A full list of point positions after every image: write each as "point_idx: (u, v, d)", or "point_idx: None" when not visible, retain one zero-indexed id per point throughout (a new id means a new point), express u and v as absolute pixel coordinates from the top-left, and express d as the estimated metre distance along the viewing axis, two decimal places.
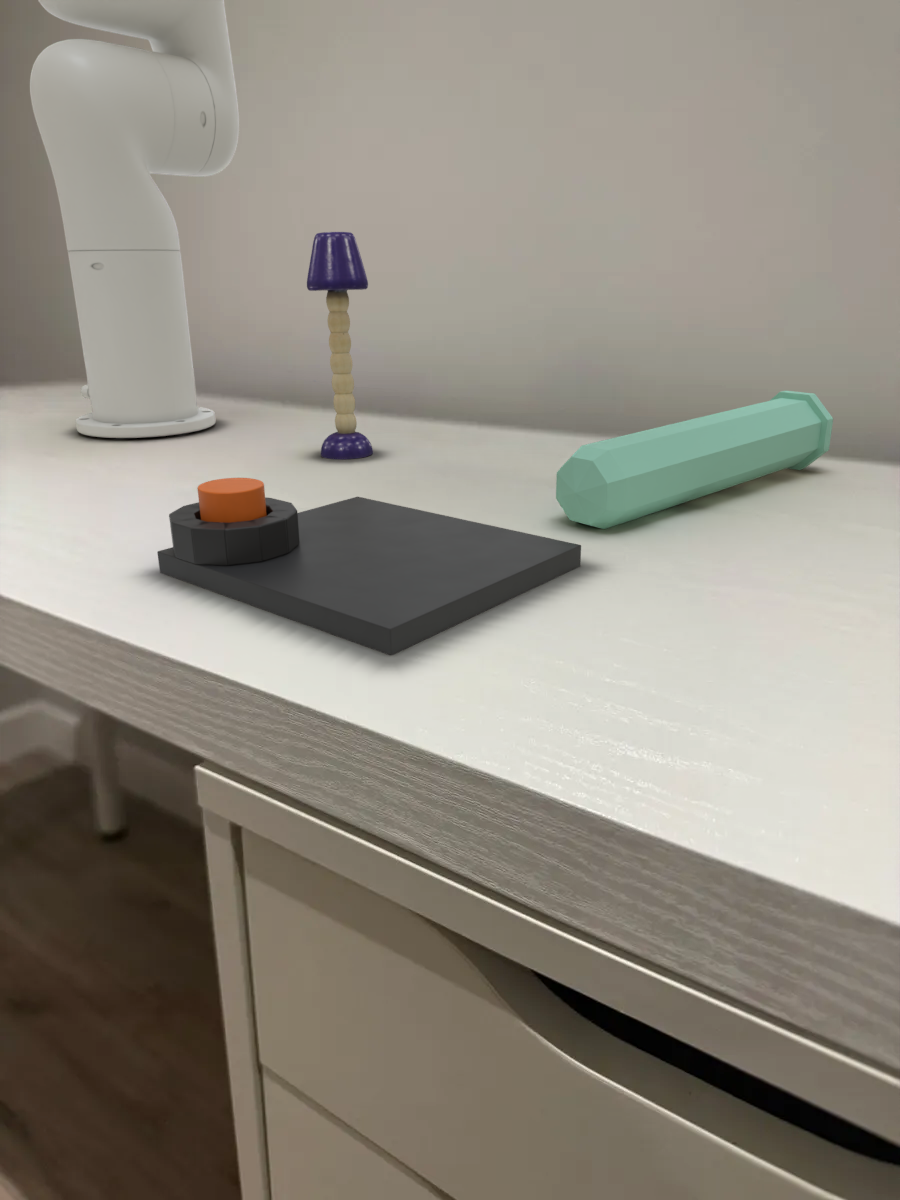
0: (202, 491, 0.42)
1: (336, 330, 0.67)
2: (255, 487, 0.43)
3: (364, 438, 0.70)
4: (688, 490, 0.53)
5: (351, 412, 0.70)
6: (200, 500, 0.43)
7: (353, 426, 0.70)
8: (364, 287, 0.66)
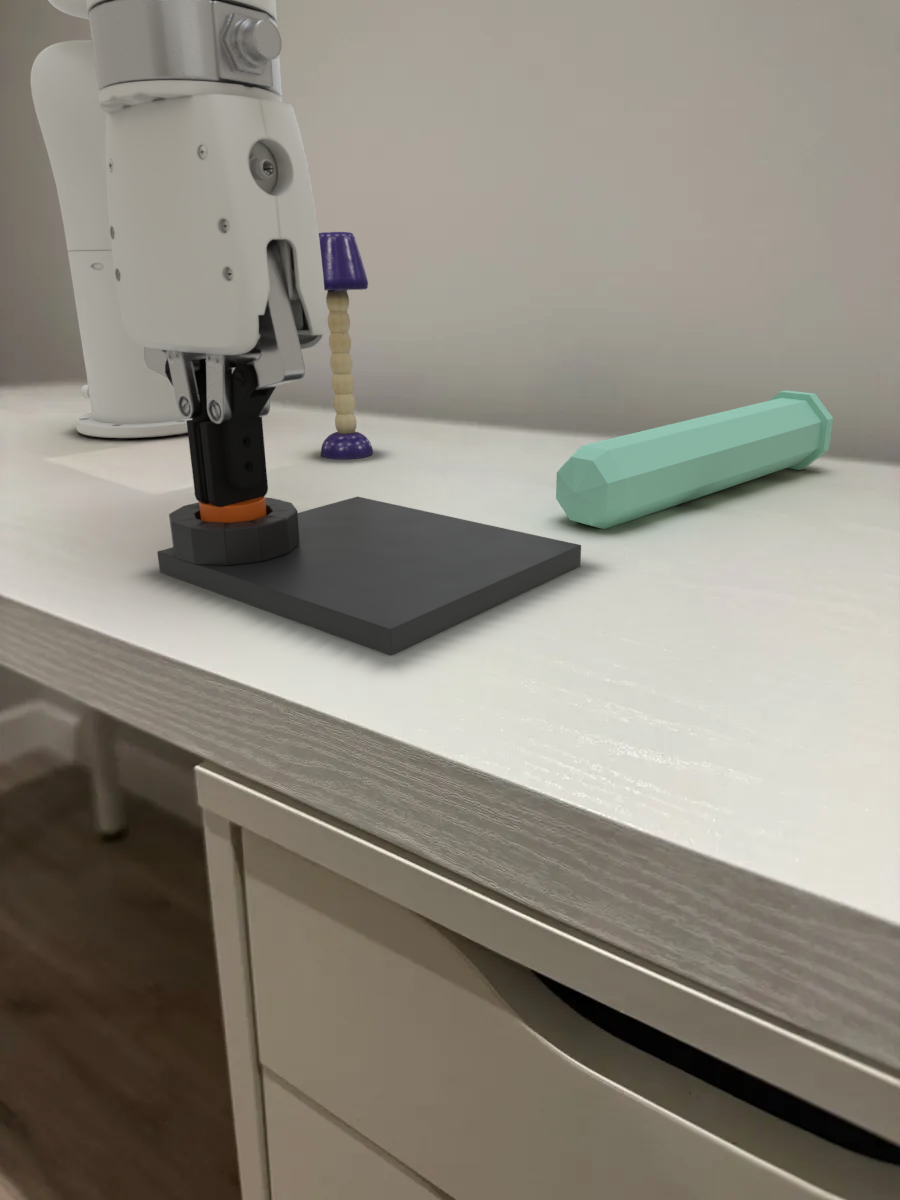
0: (204, 505, 0.43)
1: (336, 330, 0.67)
2: (256, 501, 0.43)
3: (364, 438, 0.70)
4: (688, 490, 0.53)
5: (351, 412, 0.70)
6: (202, 514, 0.43)
7: (353, 426, 0.70)
8: (364, 287, 0.66)
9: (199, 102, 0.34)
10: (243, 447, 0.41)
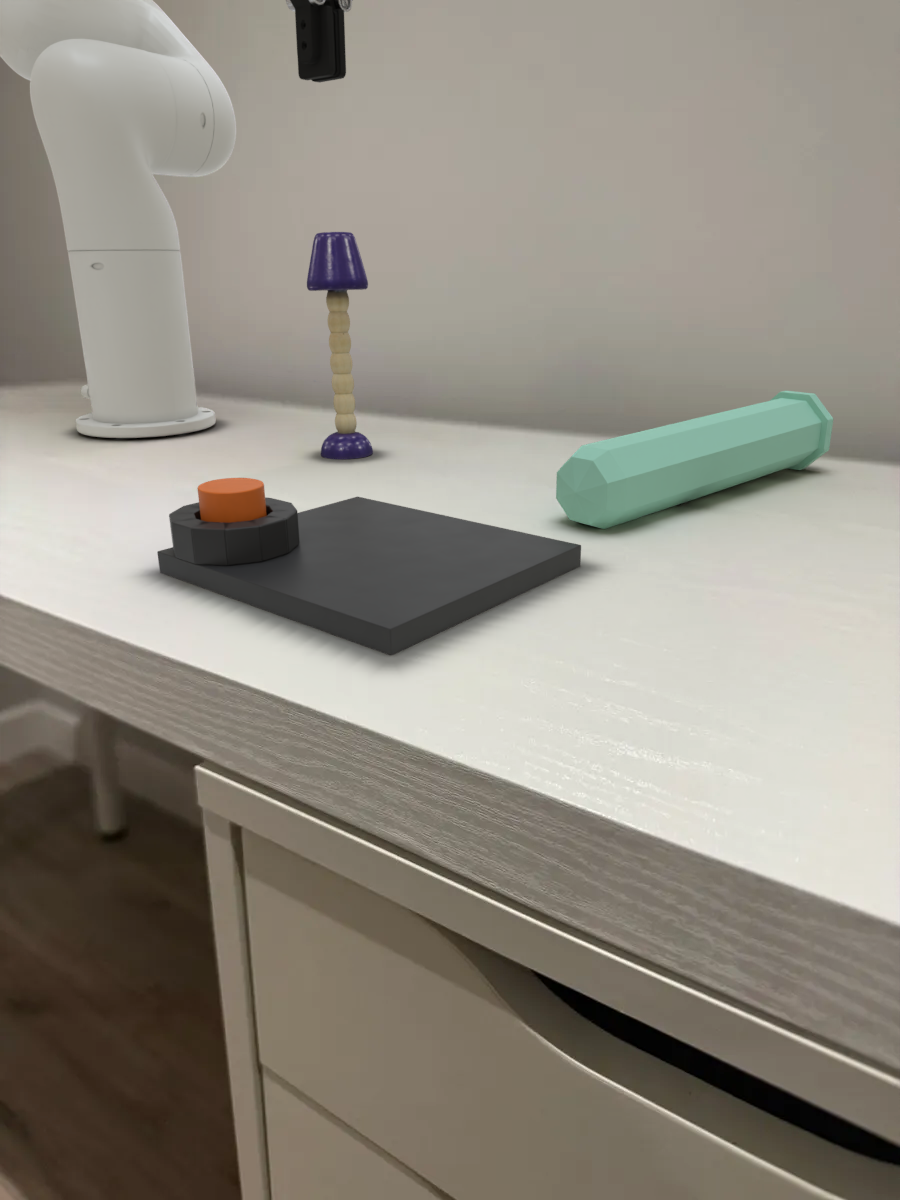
0: (202, 491, 0.42)
1: (336, 330, 0.67)
2: (255, 487, 0.43)
3: (364, 438, 0.70)
4: (688, 490, 0.53)
5: (351, 412, 0.70)
6: (200, 500, 0.43)
7: (353, 426, 0.70)
8: (364, 287, 0.66)
9: None
10: None
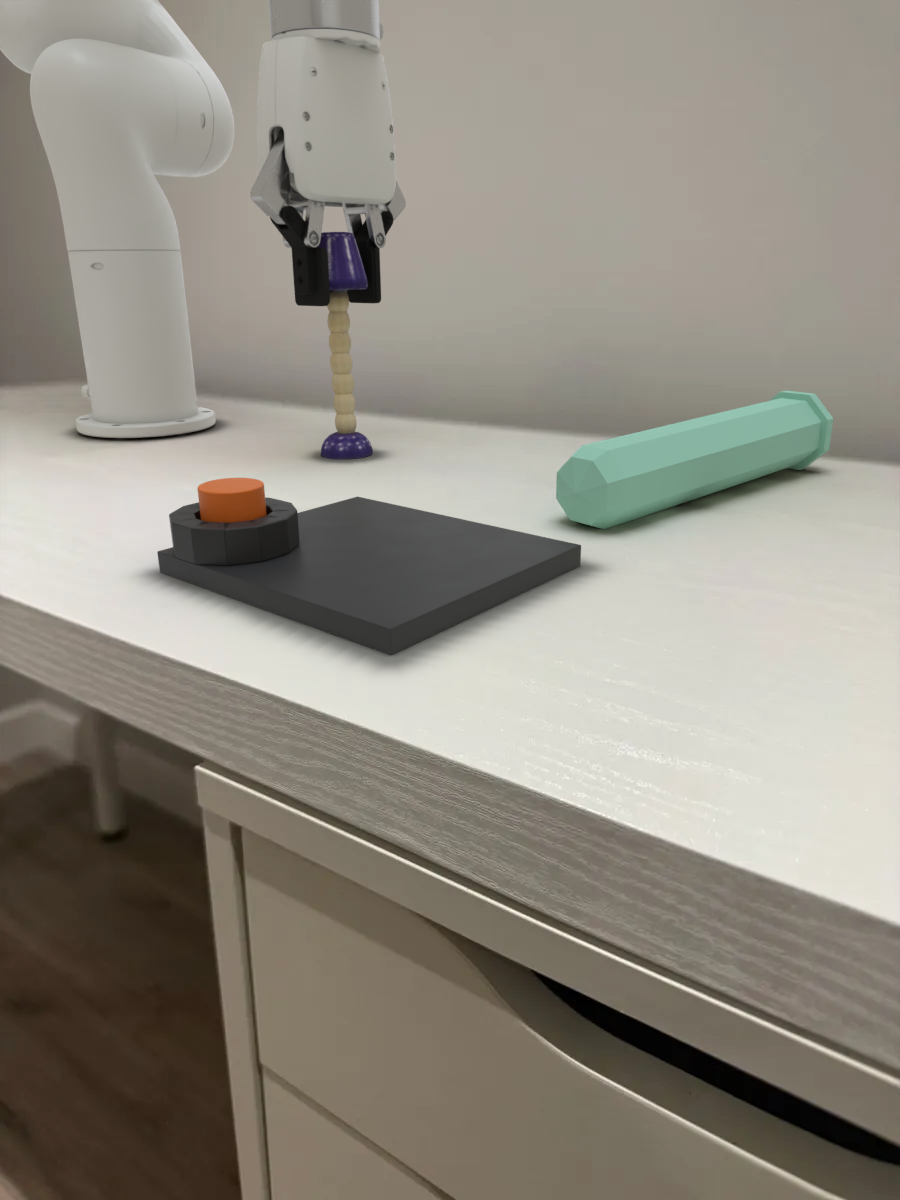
0: (202, 491, 0.42)
1: (336, 330, 0.67)
2: (255, 487, 0.43)
3: (364, 438, 0.70)
4: (688, 490, 0.53)
5: (351, 412, 0.70)
6: (200, 500, 0.43)
7: (353, 426, 0.70)
8: (364, 287, 0.66)
9: (381, 58, 0.63)
10: None
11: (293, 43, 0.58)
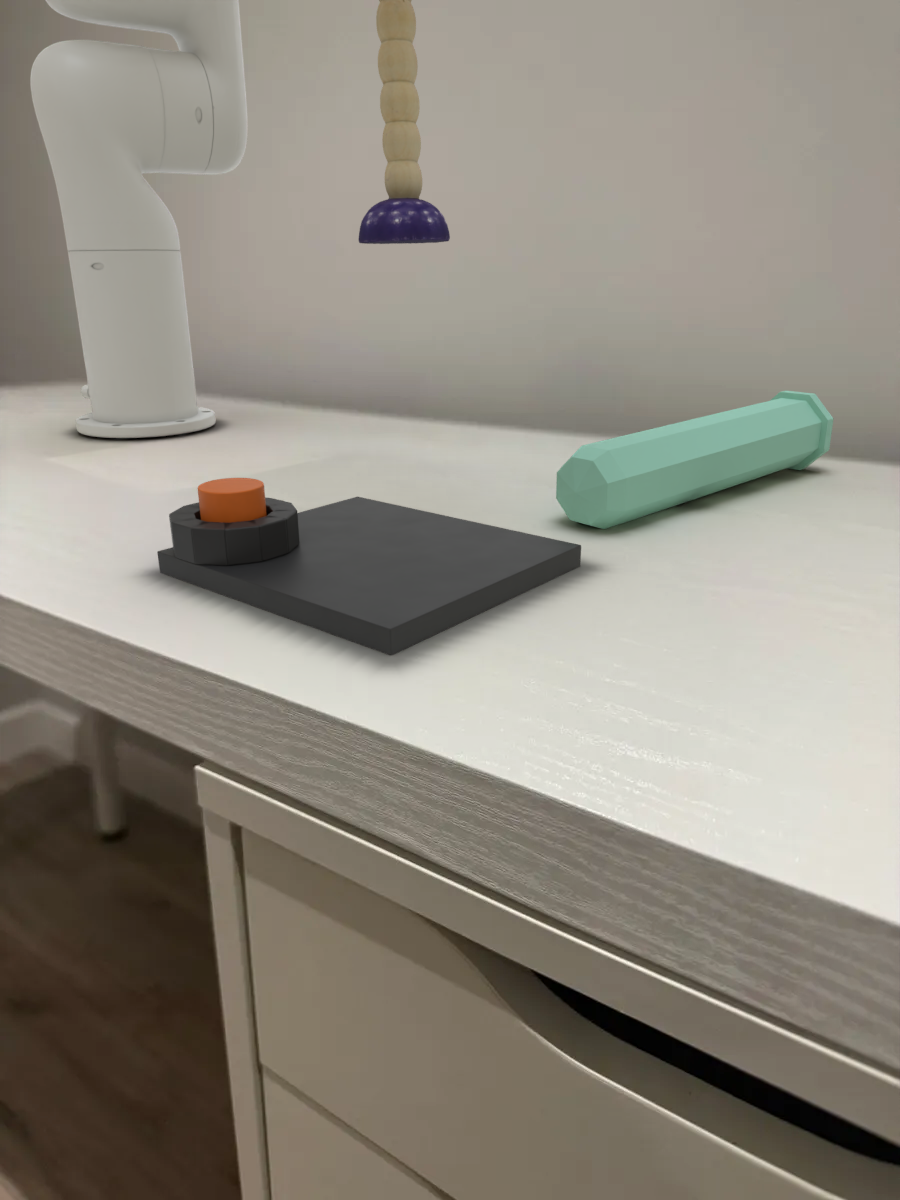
0: (202, 491, 0.42)
1: None
2: (255, 487, 0.43)
3: (436, 209, 0.40)
4: (688, 490, 0.53)
5: (413, 158, 0.39)
6: (200, 500, 0.43)
7: (418, 186, 0.39)
8: None
9: None
10: None
11: None
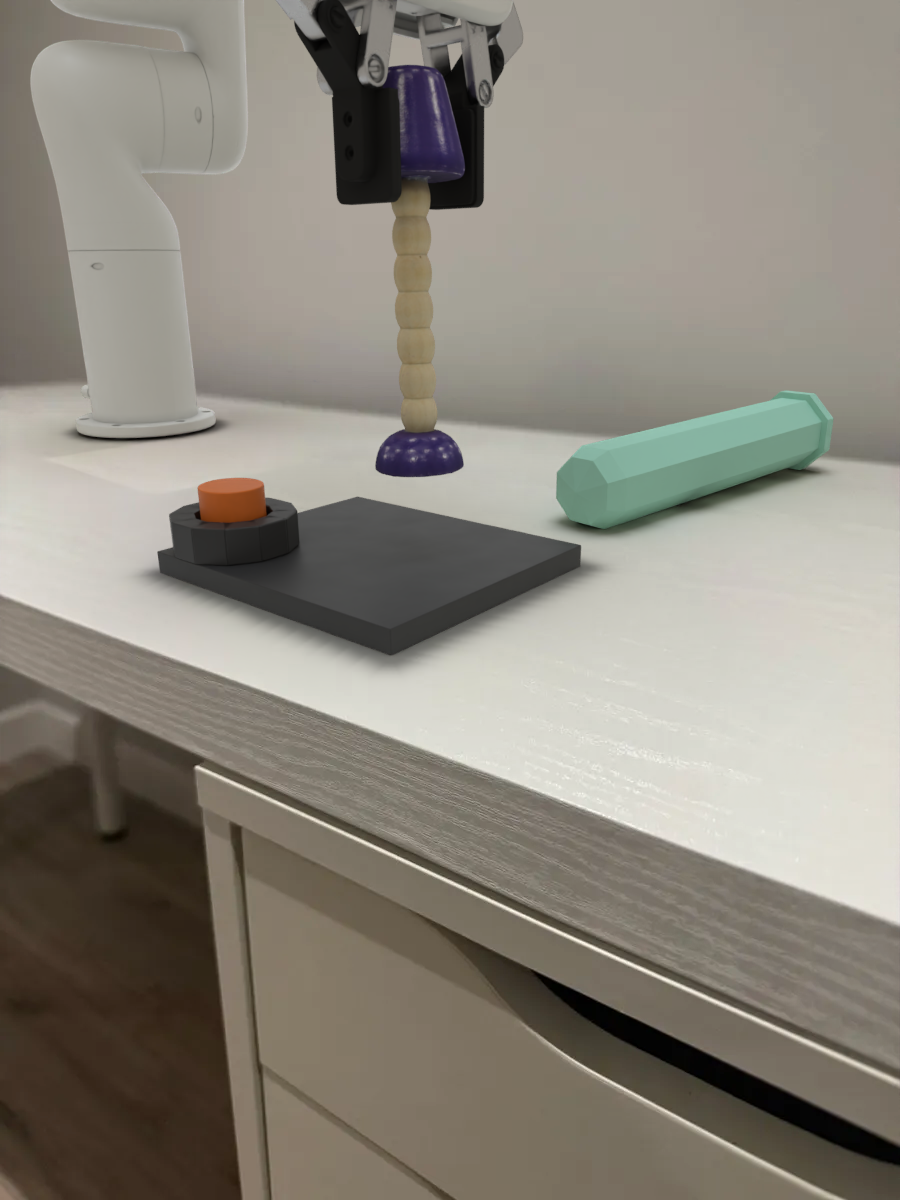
0: (202, 491, 0.42)
1: (408, 250, 0.38)
2: (255, 487, 0.43)
3: (451, 440, 0.41)
4: (688, 490, 0.53)
5: (429, 395, 0.41)
6: (200, 500, 0.43)
7: (433, 420, 0.41)
8: (460, 171, 0.37)
9: None
10: None
11: None
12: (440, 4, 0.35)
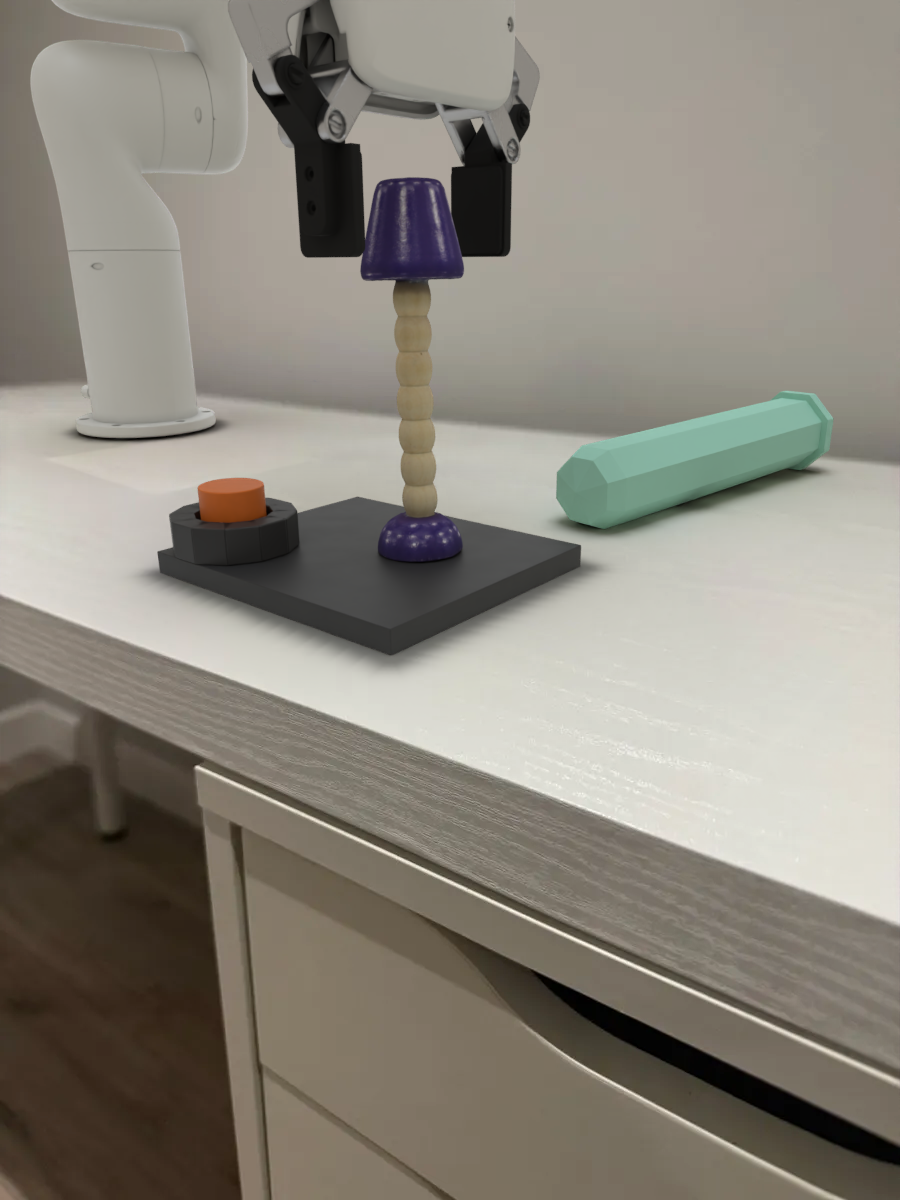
0: (202, 491, 0.42)
1: (409, 348, 0.40)
2: (255, 487, 0.43)
3: (450, 524, 0.43)
4: (688, 490, 0.53)
5: (429, 482, 0.42)
6: (200, 500, 0.43)
7: (433, 506, 0.42)
8: (459, 275, 0.39)
9: None
10: None
11: None
12: (440, 97, 0.36)
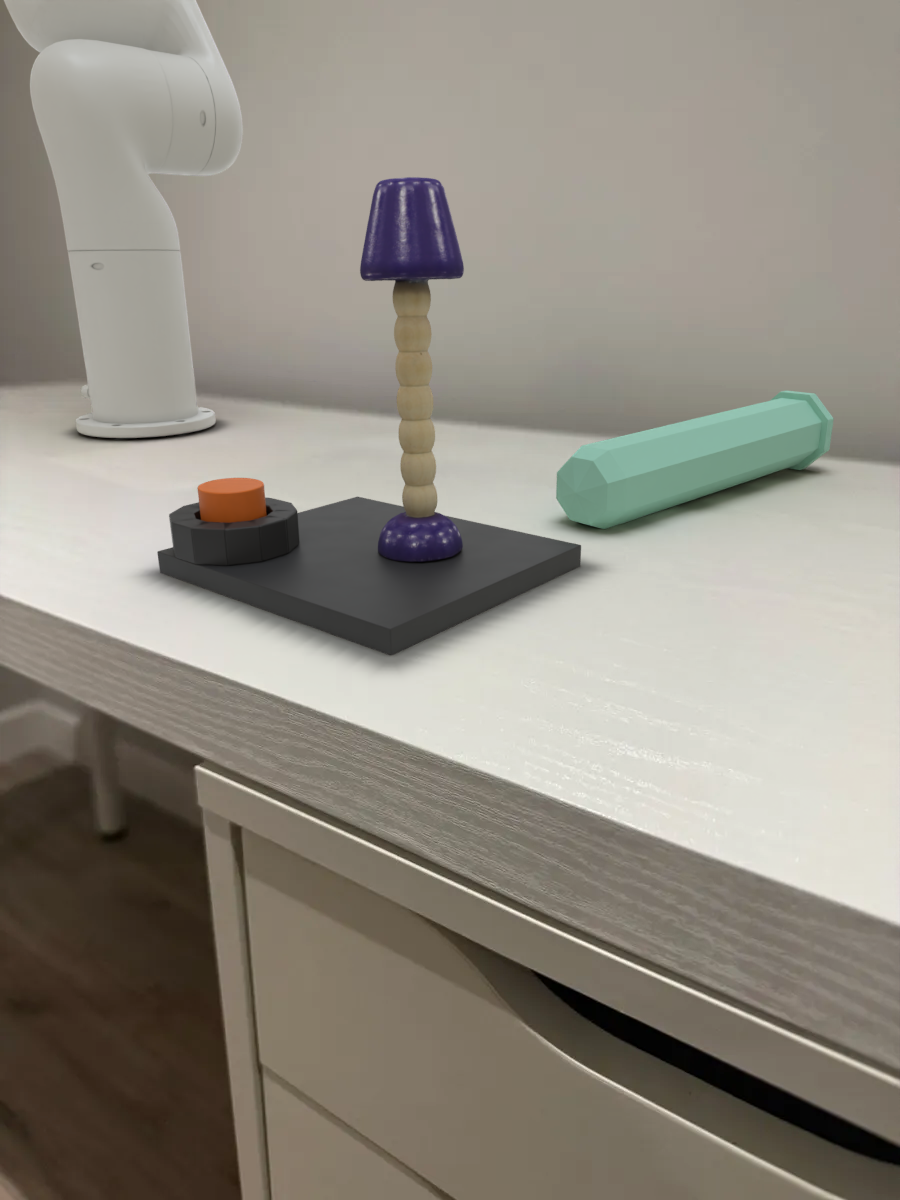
0: (202, 491, 0.42)
1: (409, 348, 0.40)
2: (255, 487, 0.43)
3: (450, 524, 0.43)
4: (688, 490, 0.53)
5: (429, 482, 0.42)
6: (200, 500, 0.43)
7: (433, 506, 0.42)
8: (459, 274, 0.39)
9: None
10: None
11: None
12: None
